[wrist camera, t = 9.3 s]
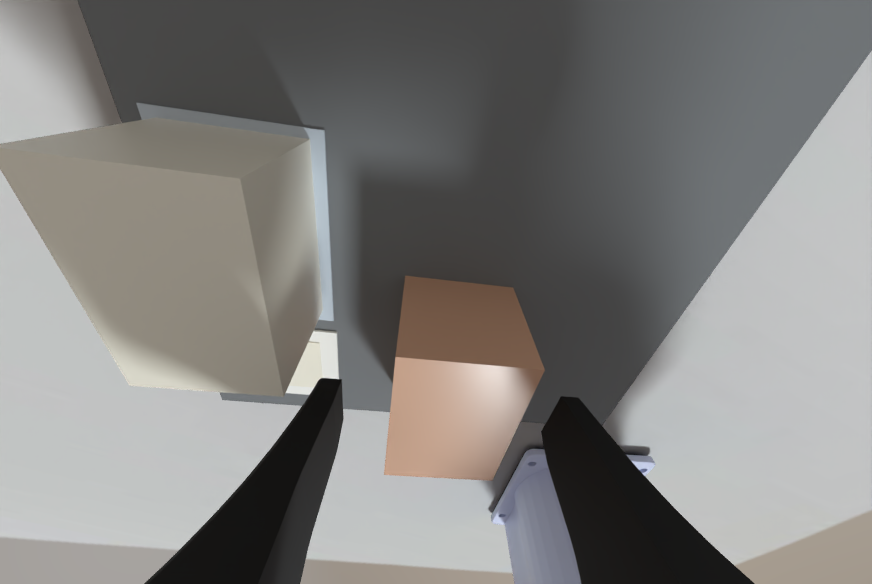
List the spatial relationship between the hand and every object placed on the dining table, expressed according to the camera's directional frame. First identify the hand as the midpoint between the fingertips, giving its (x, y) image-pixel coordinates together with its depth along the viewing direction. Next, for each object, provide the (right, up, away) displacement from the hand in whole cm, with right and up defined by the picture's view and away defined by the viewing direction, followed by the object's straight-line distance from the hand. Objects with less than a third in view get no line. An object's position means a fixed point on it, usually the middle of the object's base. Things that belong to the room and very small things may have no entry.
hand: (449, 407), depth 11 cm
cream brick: (-6, +6, 0) cm, 9 cm away
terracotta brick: (0, +2, +3) cm, 3 cm away
